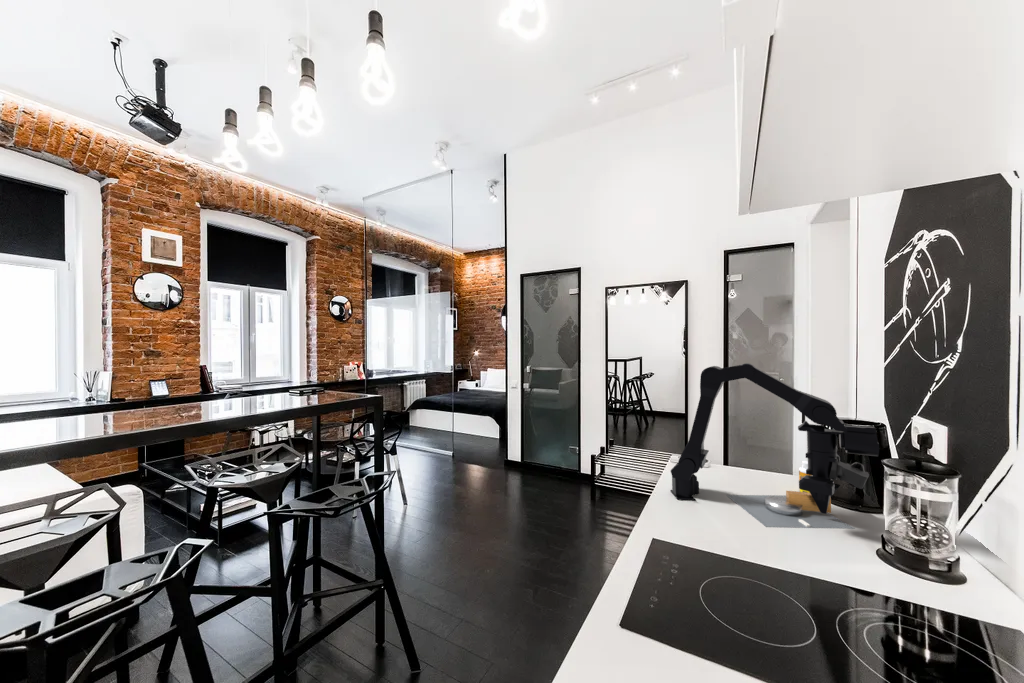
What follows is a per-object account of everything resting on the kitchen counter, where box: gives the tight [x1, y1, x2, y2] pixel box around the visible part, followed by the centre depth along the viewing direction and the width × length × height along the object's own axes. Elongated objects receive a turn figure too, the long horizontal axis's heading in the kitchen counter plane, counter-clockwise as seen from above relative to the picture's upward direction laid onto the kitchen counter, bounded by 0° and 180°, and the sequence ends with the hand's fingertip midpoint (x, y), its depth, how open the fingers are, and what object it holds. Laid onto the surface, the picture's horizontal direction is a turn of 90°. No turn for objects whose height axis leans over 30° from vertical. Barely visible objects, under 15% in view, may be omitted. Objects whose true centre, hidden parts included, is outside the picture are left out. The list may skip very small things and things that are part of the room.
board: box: [726, 494, 856, 529], centre depth 101 cm, size 20×20×2 cm
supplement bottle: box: [798, 459, 812, 493], centre depth 111 cm, size 6×6×10 cm
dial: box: [765, 490, 832, 516], centre depth 100 cm, size 14×8×5 cm, turn 71°
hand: (823, 513), depth 95 cm, fingers closed
